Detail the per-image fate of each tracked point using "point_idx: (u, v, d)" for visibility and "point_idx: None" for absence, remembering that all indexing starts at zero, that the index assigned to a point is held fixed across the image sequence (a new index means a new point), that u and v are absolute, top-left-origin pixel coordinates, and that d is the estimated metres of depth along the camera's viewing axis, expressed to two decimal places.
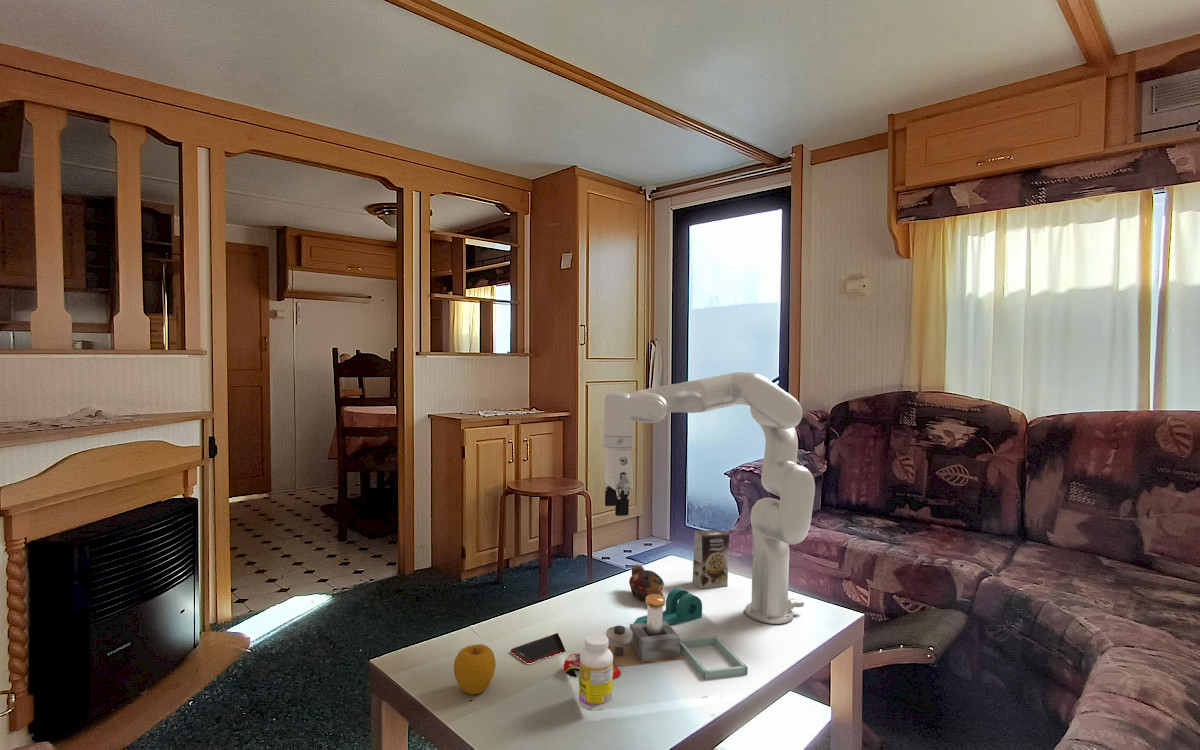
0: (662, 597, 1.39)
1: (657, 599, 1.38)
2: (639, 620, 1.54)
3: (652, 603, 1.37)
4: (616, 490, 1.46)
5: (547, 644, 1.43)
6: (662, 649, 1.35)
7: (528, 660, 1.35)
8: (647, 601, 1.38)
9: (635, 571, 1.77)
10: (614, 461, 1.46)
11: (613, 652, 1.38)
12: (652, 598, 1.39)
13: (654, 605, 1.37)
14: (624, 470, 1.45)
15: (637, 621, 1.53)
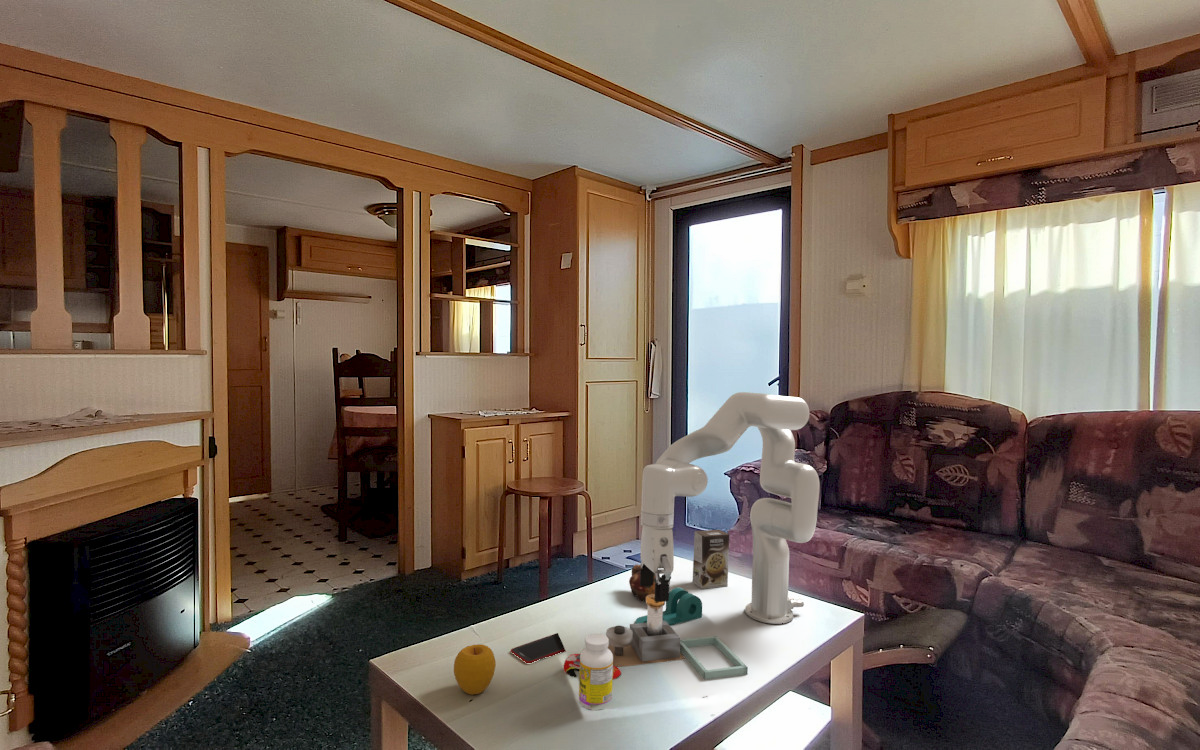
0: None
1: None
2: (639, 620, 1.54)
3: (652, 603, 1.37)
4: (656, 573, 1.34)
5: (547, 644, 1.43)
6: (662, 649, 1.35)
7: (528, 660, 1.35)
8: (647, 601, 1.38)
9: (635, 571, 1.77)
10: (654, 542, 1.34)
11: (613, 652, 1.38)
12: (652, 598, 1.39)
13: (654, 605, 1.37)
14: (665, 552, 1.34)
15: (637, 621, 1.53)
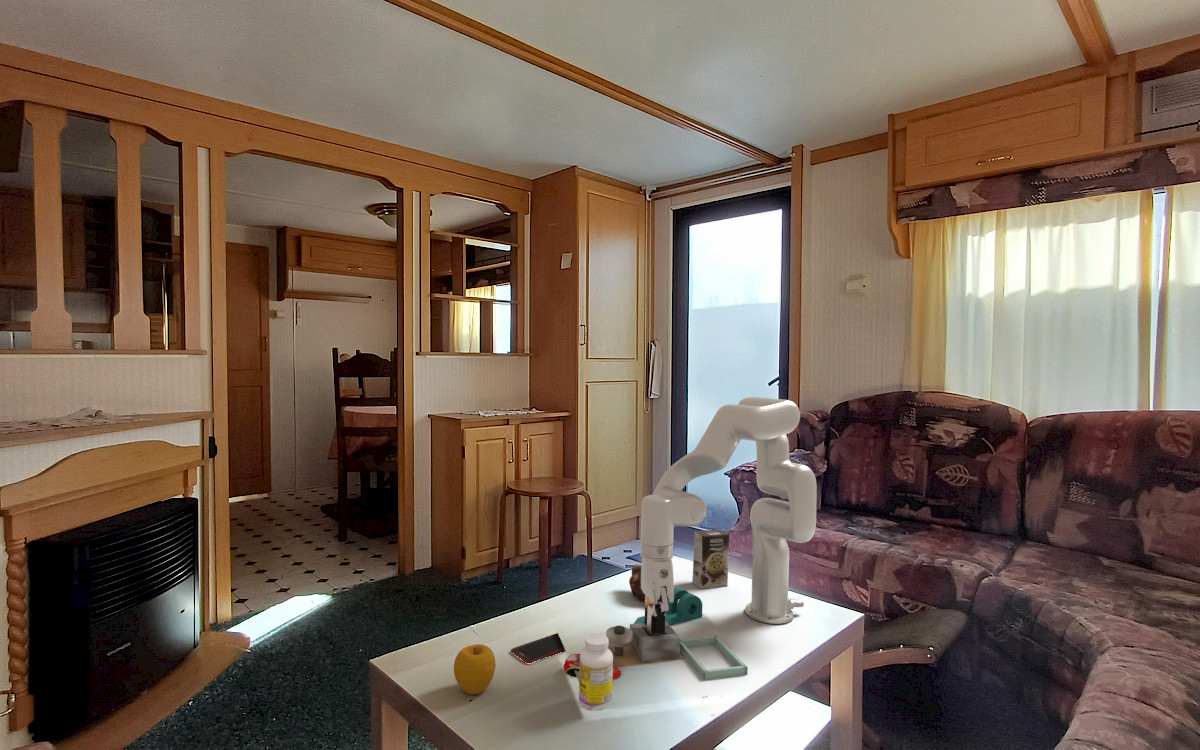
0: None
1: None
2: (640, 620, 1.54)
3: (652, 603, 1.37)
4: (653, 605, 1.36)
5: (547, 644, 1.43)
6: (662, 649, 1.35)
7: (528, 660, 1.35)
8: (647, 601, 1.38)
9: (635, 571, 1.77)
10: (654, 574, 1.34)
11: (613, 652, 1.38)
12: None
13: None
14: (665, 583, 1.34)
15: (637, 621, 1.53)
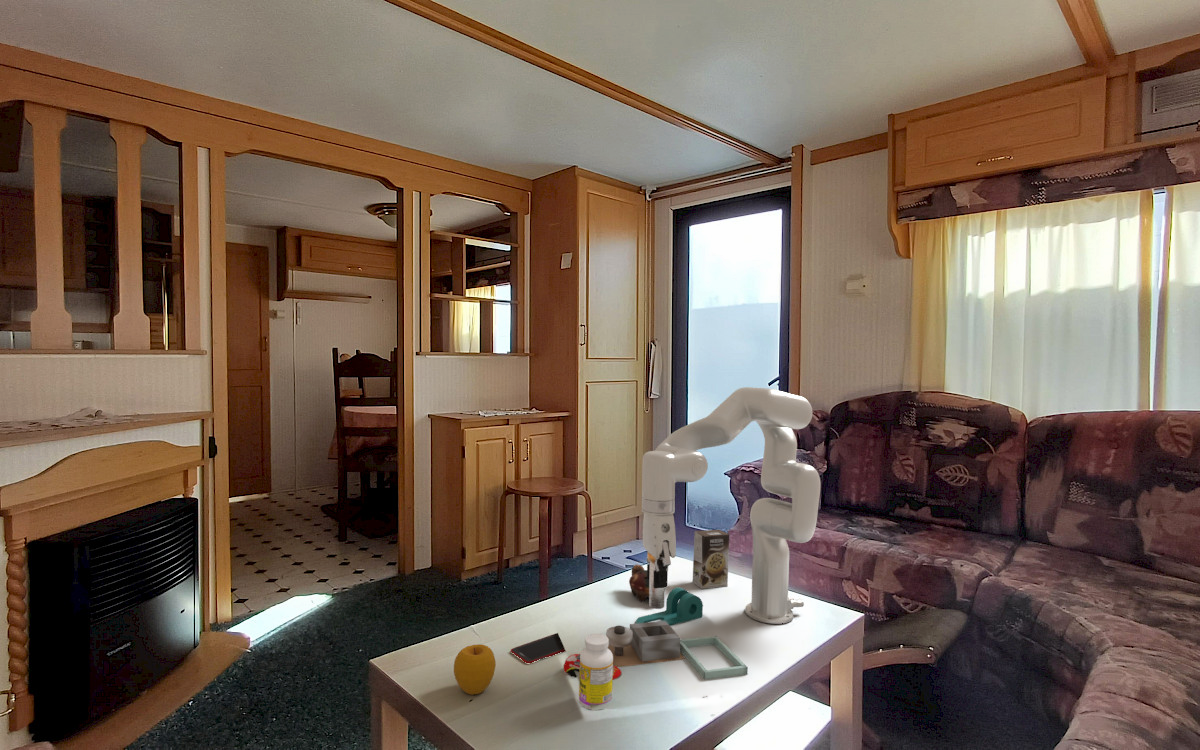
0: None
1: None
2: (640, 620, 1.54)
3: (654, 558, 1.37)
4: (655, 560, 1.36)
5: (547, 644, 1.43)
6: (662, 649, 1.35)
7: (528, 660, 1.35)
8: (649, 557, 1.38)
9: (635, 571, 1.77)
10: (656, 528, 1.34)
11: (613, 652, 1.38)
12: None
13: None
14: (667, 538, 1.34)
15: (638, 621, 1.53)
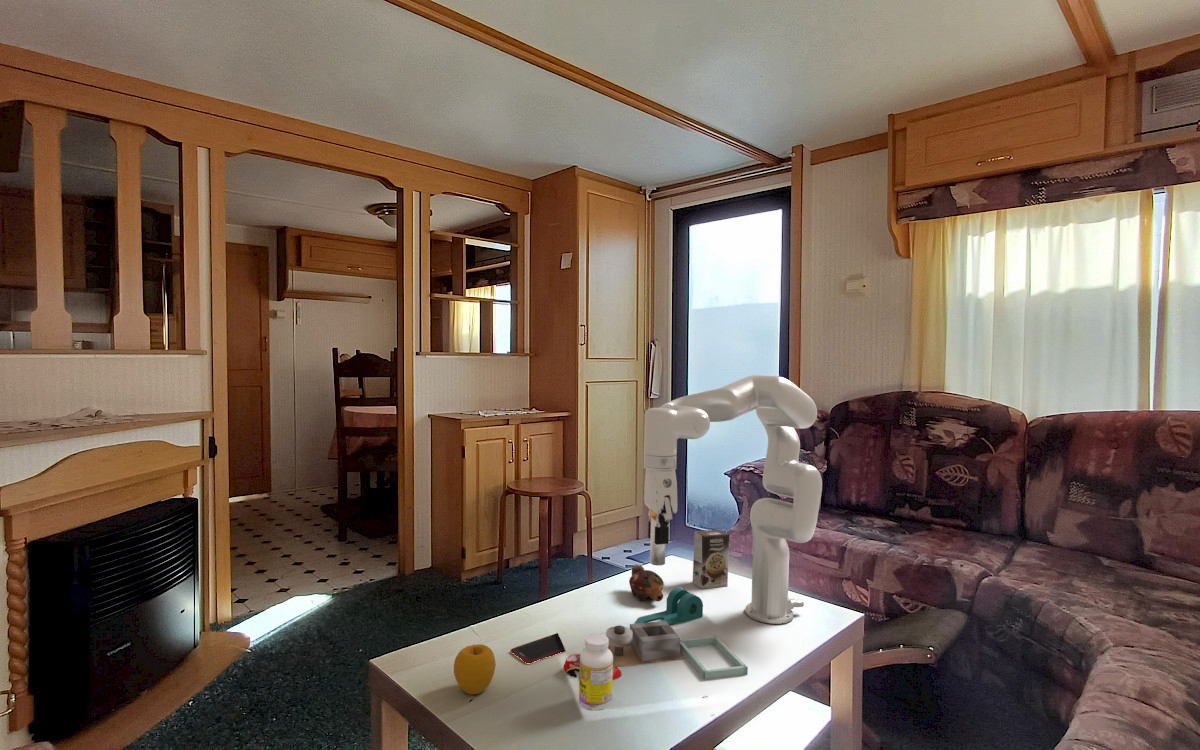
0: None
1: None
2: (640, 620, 1.54)
3: (655, 514, 1.36)
4: (656, 516, 1.36)
5: (547, 644, 1.43)
6: (662, 649, 1.35)
7: (528, 660, 1.35)
8: (650, 513, 1.37)
9: (635, 571, 1.77)
10: (657, 483, 1.34)
11: (613, 652, 1.38)
12: None
13: None
14: (668, 493, 1.34)
15: (638, 621, 1.53)
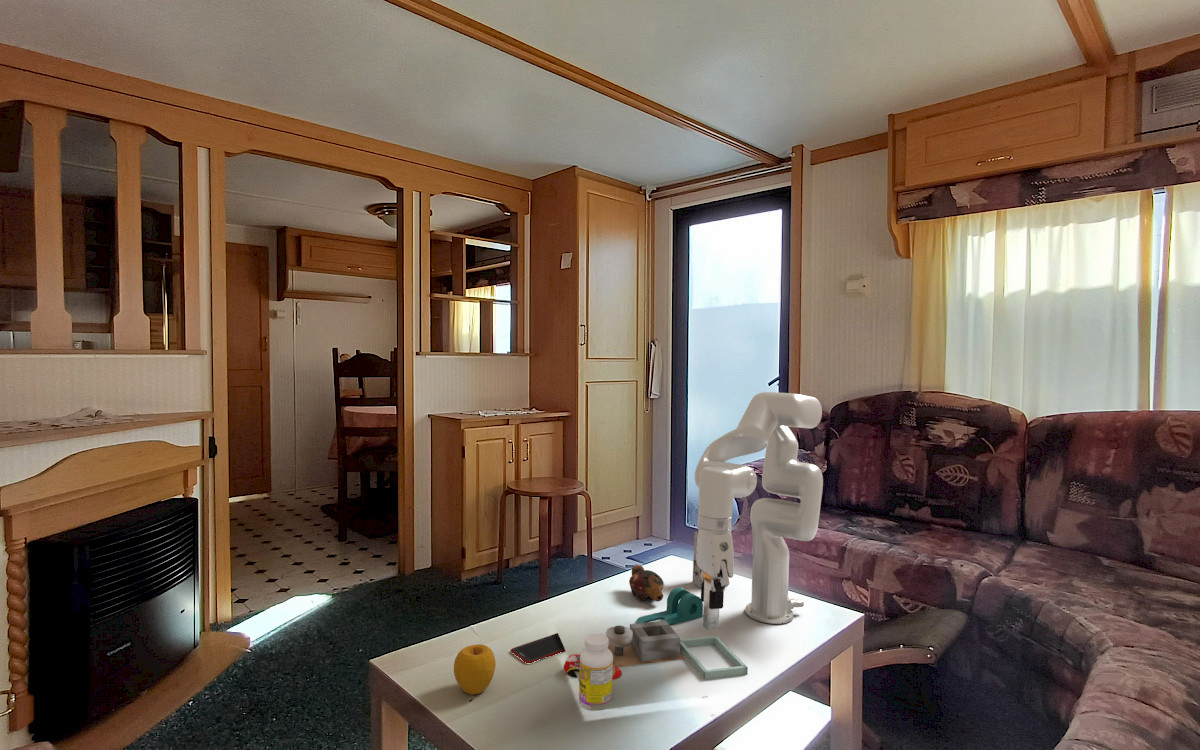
0: None
1: None
2: (640, 620, 1.54)
3: (710, 578, 1.33)
4: (712, 579, 1.32)
5: (547, 644, 1.43)
6: (662, 649, 1.35)
7: (528, 660, 1.35)
8: (704, 576, 1.34)
9: (635, 571, 1.77)
10: (714, 547, 1.30)
11: (613, 652, 1.38)
12: None
13: None
14: (725, 557, 1.30)
15: (638, 621, 1.53)
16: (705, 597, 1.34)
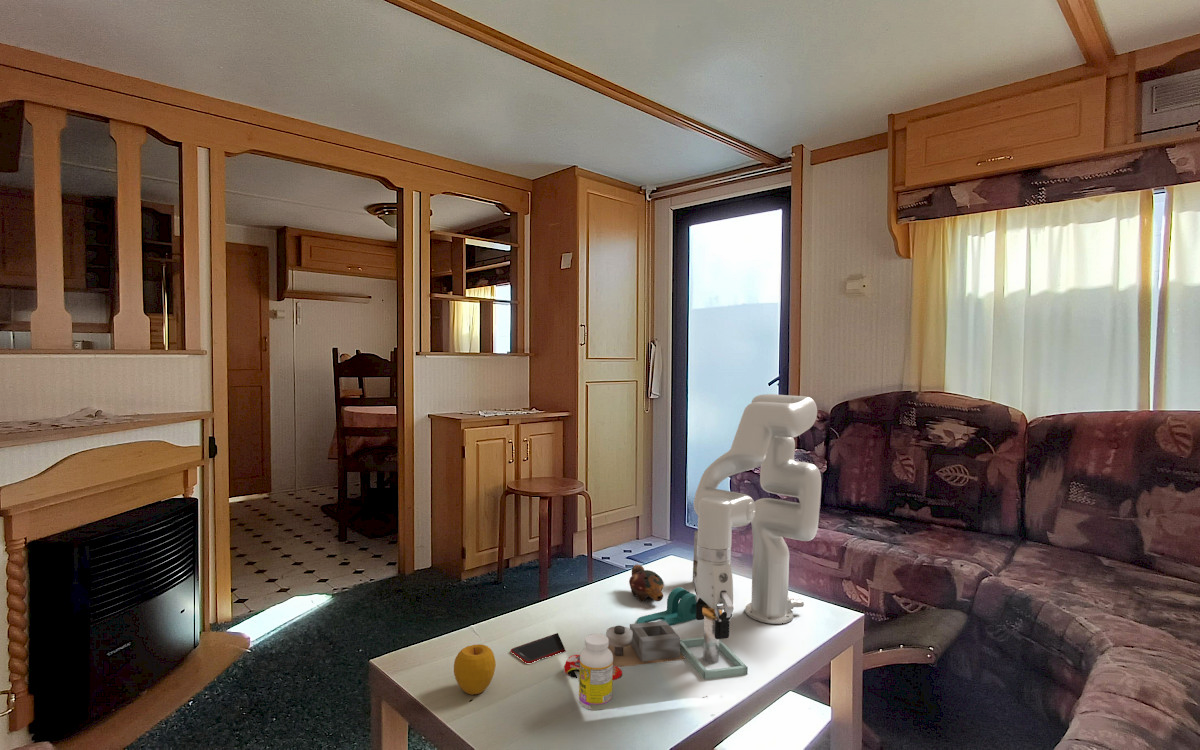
0: None
1: (714, 610, 1.34)
2: (641, 620, 1.54)
3: (710, 614, 1.33)
4: (715, 610, 1.31)
5: (547, 644, 1.43)
6: (662, 649, 1.35)
7: (528, 660, 1.35)
8: (704, 612, 1.34)
9: (635, 571, 1.77)
10: (713, 578, 1.30)
11: (613, 652, 1.38)
12: (709, 609, 1.35)
13: (712, 617, 1.33)
14: (724, 588, 1.30)
15: (638, 621, 1.53)
16: (705, 633, 1.35)
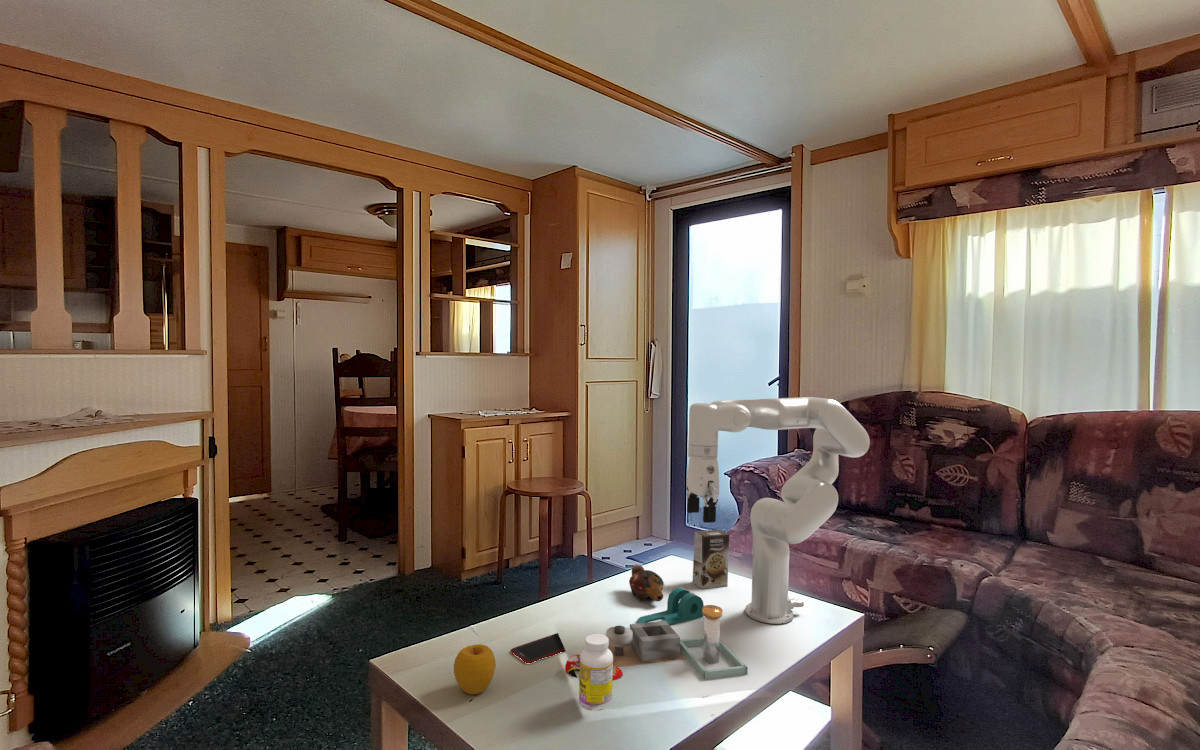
0: (719, 608, 1.35)
1: (714, 610, 1.34)
2: (641, 620, 1.54)
3: (710, 615, 1.33)
4: (703, 498, 1.51)
5: (547, 644, 1.43)
6: (662, 649, 1.35)
7: (527, 660, 1.35)
8: (704, 612, 1.34)
9: (635, 571, 1.77)
10: (702, 470, 1.51)
11: (613, 652, 1.38)
12: (709, 609, 1.35)
13: (712, 617, 1.33)
14: (711, 478, 1.51)
15: (639, 620, 1.53)
16: (705, 633, 1.35)
